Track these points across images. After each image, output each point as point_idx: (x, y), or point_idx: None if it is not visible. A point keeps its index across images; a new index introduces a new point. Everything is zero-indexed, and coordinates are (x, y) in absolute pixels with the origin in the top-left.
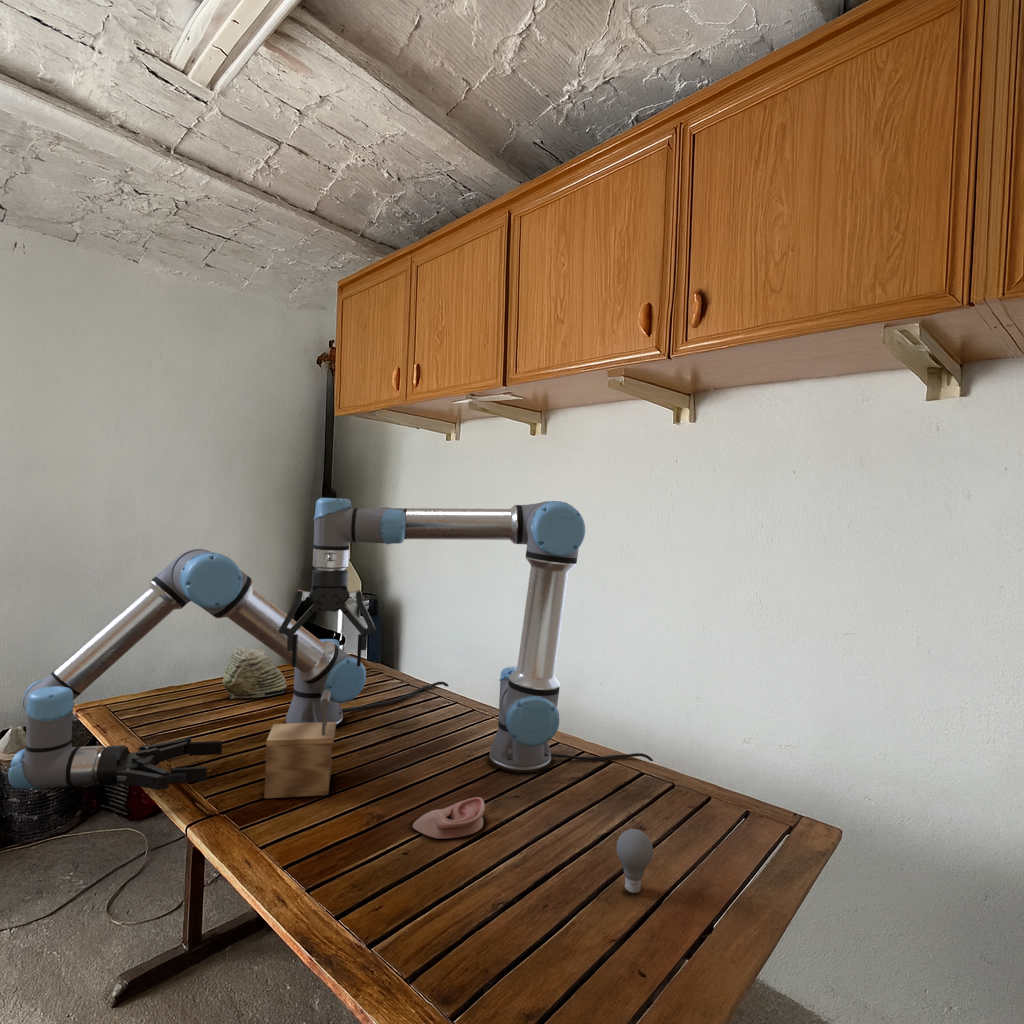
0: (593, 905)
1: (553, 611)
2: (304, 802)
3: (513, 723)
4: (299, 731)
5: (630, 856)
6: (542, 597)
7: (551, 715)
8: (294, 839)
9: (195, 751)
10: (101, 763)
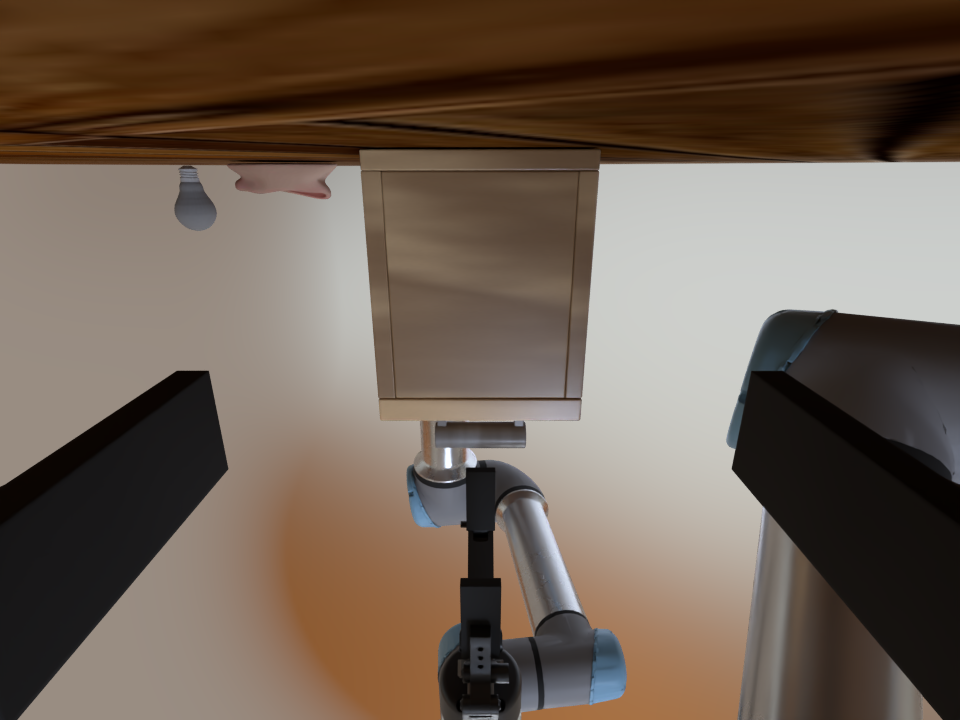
0: (141, 163)
1: None
2: (344, 153)
3: None
4: None
5: (175, 214)
6: (422, 430)
7: None
8: (79, 153)
9: (919, 559)
10: None
